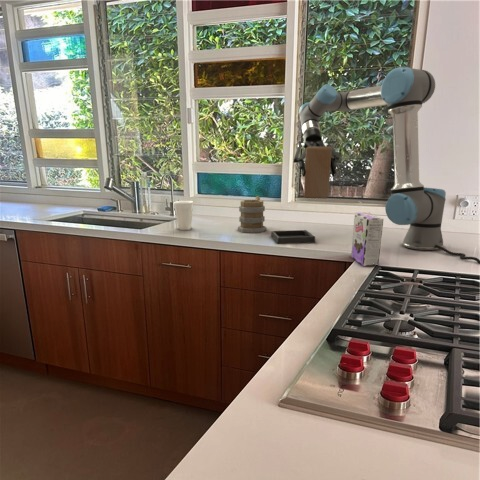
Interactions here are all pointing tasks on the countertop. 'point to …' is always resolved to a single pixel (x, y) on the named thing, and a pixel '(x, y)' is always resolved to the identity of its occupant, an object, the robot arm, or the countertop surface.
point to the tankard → (252, 216)
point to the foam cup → (184, 214)
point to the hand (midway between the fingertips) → (319, 174)
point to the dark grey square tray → (292, 236)
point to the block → (317, 172)
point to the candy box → (367, 238)
